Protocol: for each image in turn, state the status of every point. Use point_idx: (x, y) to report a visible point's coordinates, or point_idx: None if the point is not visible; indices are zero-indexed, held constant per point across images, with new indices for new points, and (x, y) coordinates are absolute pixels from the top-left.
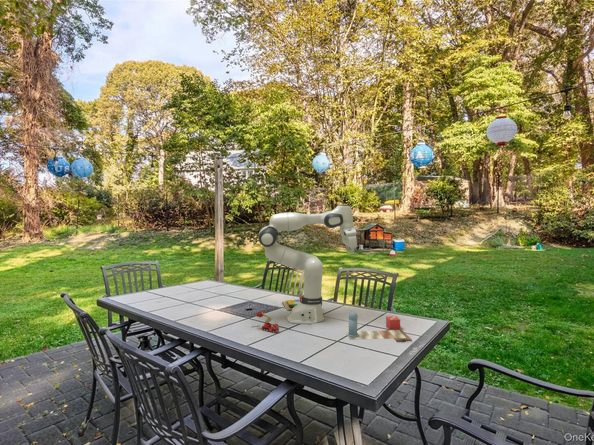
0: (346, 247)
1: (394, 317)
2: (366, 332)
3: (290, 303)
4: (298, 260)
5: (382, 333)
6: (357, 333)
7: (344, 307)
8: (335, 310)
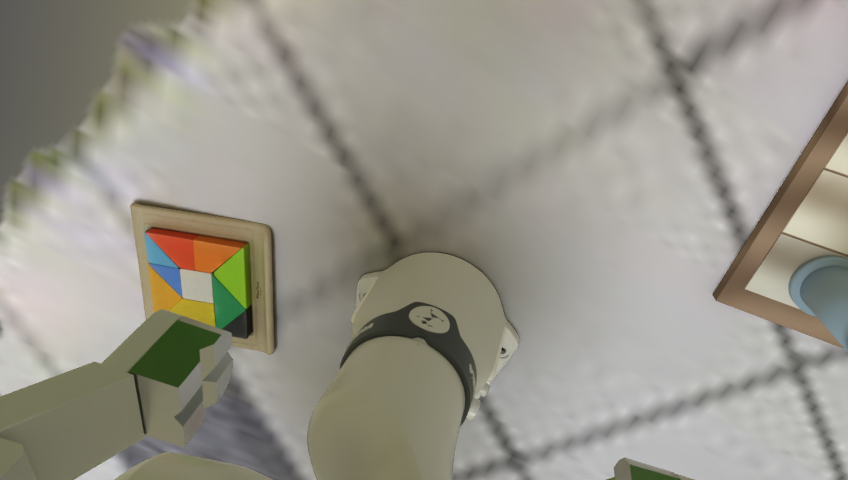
0: (97, 460)
1: None
2: (844, 185)
3: (204, 322)
4: None
5: None
6: (842, 261)
7: (298, 16)
8: (340, 112)
